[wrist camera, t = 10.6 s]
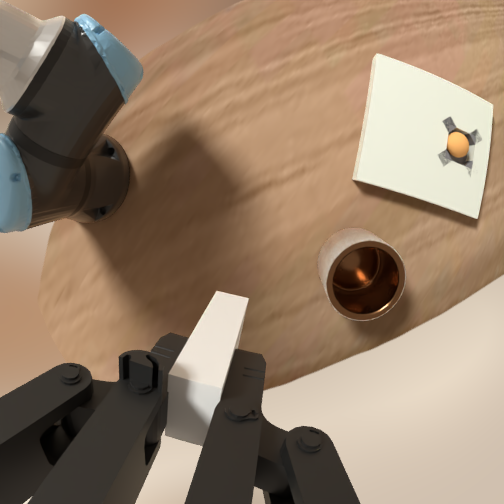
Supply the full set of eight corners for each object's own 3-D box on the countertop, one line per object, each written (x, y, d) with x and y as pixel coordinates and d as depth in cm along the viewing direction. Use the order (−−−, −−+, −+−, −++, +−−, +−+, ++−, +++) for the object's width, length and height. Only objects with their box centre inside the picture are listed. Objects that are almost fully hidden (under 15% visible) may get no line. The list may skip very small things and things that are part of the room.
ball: (447, 157, 41) (441, 150, 38) (451, 135, 40) (444, 126, 37) (469, 162, 38) (464, 155, 35) (472, 139, 37) (467, 130, 34)
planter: (381, 294, 46) (401, 319, 37) (315, 296, 48) (322, 323, 38) (386, 226, 44) (410, 238, 35) (317, 226, 45) (325, 239, 36)
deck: (352, 179, 43) (356, 179, 40) (372, 58, 38) (377, 53, 36) (469, 216, 42) (477, 219, 39) (485, 106, 37) (493, 104, 34)
